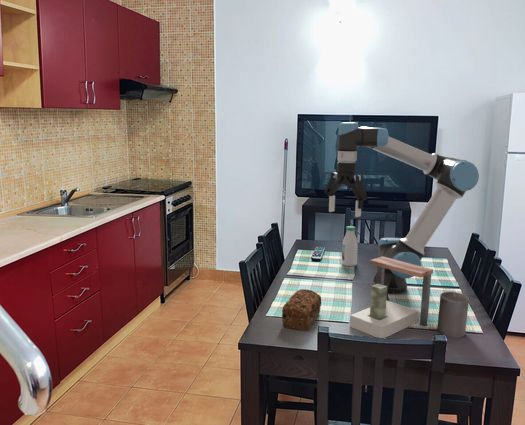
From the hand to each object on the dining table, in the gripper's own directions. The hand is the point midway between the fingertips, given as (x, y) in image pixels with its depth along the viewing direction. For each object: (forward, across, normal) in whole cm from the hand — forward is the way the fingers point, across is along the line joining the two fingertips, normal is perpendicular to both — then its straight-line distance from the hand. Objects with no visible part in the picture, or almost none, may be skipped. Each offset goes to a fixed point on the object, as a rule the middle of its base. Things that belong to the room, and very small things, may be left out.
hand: (344, 214), depth 208 cm
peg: (+37, +27, -12) cm, 47 cm away
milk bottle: (+37, -30, +43) cm, 64 cm away
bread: (+37, +4, -28) cm, 47 cm away
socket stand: (+37, +27, -7) cm, 46 cm away
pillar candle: (+37, +47, +5) cm, 60 cm away
